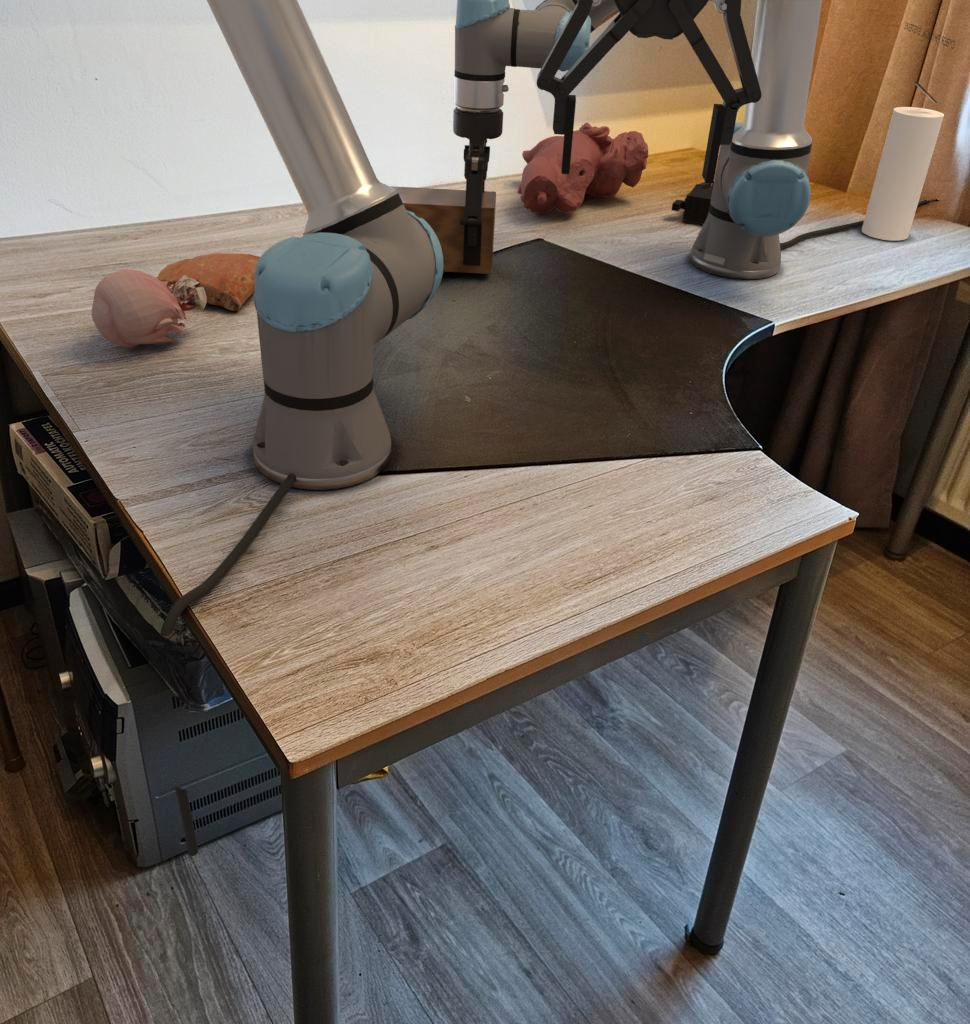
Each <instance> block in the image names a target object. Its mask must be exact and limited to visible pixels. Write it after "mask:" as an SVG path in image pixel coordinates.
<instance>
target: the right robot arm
mask: <svg viewBox="0 0 970 1024" xmlns="http://www.w3.org/2000/svg"><path fill="white" fill-rule="evenodd" d="M577 2H578V0H543V1H542V2H541V3H540V4H538V5H537V6H536V7H535V8H534V9H520V8H514V7H511V4H510V0H456V11H455V25H454V75H453V104H454V105H455V106H456V107H455V108H454V109H453V112H452V113H453V114H452V115H453V116H452V117H453V119H452V120H453V121H452V132H453V134H454V135H455V136H457V137H459V138H462V139H467V140H469V141H468V144H464V148H463V157H462V158H463V161H464V171H463V172H464V173H463V177H464V179H465V180H466V181H465V190H466V201H465V218H464V220H460V225H464V252H463V265H474V266H480V258H481V234H482V220H481V211H482V193H483V192H484V191H485V190H486V189H485V186H486V180H487V177H488V168H489V163H490V157H491V156H490V155H491V146H489V145H487V144H488V140H494V139H497V138H500V137H501V136H502V135H503V128H504V127H503V125H504V111H503V109H501V108H502V107H503V106H504V101H505V100H504V99H505V97H504V96H505V94H504V93H507V92H509V85H508V84H504V83H505V78H506V68H507V67H511V68H527V69H528V68H529V69H540V70H541V68H542V67H543V65H544V63H545V61H546V59H547V57H548V56H549V54H550V52H551V50H552V48H553V46H554V45H555V43H556V41H557V39H558V37H559V35H560V34H561V32H562V30H563V28H564V26H565V24H566V23H567V21H568V19H569V17H570V15H571V13H572V12H573V10H574V8H575V6H576V4H577ZM822 4H823V0H757V3H756V9H755V10H756V11H755V19H754V20H755V21H754V27H753V38H752V45H751V56H752V60H753V63H754V67H755V71H756V75H757V78H758V82H759V86H760V89H761V94H762V96H761V99H760V100H759V101H758V102H756V103H748V104H745V107H744V115H743V122H736V123H735V128H734V134H733V139H732V141H731V143H730V145H720V148H719V154H718V160H717V166H716V171H715V177H714V185H713V191H712V196H711V202H710V208H709V214H708V217H707V219H706V221H705V223H704V224H702V227H701V228H700V230H699V232H698V234H697V236H696V238H695V240H694V242H693V244H692V248H691V250H690V256H689V261H690V263H691V264H692V265H693V266H694V267H696V268H698V269H699V270H702V271H703V272H706V273H709V274H711V275H715V276H719V277H725V278H730V279H737V280H739V279H741V280H756V279H757V280H760V279H765V278H770V277H772V276H775V275H776V274H777V273H778V272H779V271H780V268H781V262H782V251H781V249H784V248H788V247H791V246H793V245H795V244H797V243H798V242H800V241H802V240H805V239H808V238H811V237H812V238H813V237H816V236H821V235H826V234H831V233H834V232H839V231H845V230H849V229H853V228H858V227H862V226H863V223H864V219H863V220H859V221H855V222H850V223H846V224H841V225H836V226H832V227H827V228H823V229H817V230H813V231H809V232H805V233H802V234H799V235H797V236H795V237H794V238H792V239H789V240H788V241H784V242H780V234H784V233H785V232H787V231H789V230H790V229H791V228H793V227H795V226H796V225H797V224H798V223H799V222H800V221H801V220H802V218H803V217H804V216H805V214H806V212H807V210H808V208H809V205H810V202H811V196H812V195H811V193H812V189H811V185H812V184H811V183H810V178H809V176H808V171H809V165H810V159H811V152H812V144H813V137H812V136H811V135H810V134H809V132H808V130H806V128H805V120H806V114H807V108H808V107H807V106H808V101H809V92H810V87H811V79H812V78H811V77H812V72H813V65H814V58H815V54H816V53H815V52H816V44H817V39H818V31H819V25H820V19H821V11H822ZM619 13H620V12H619V11H618V9H617V7H616V5H615V3H614V1H613V0H602V2H601V3H600V5H598V6H592V7H591V10H590V13H589V15H588V17H587V19H586V21H585V22H584V24H583V26H582V28H581V30H580V31H579V33H578V35H577V37H576V39H575V40H574V42H573V44H572V46H571V48H570V49H569V51H568V53H567V55H566V57H565V58H564V60H563V62H562V64H561V66H560V67H559V69H558V71H560V72H563V73H565V72H567V71H568V70H569V69H570V68H571V67H572V66H573V65H574V64H575V63H576V61H577V60H578V59H579V58H580V57H581V56H582V55H583V54H584V53H585V52H586V50H587V49H588V48H589V47H590V40H591V34H592V33H593V32H594V31H595V30H597V29H598V28H599V27H601V26H602V25H604V24H605V23H607V22H608V21H609V20H611V19H612V18H613V17H616V16H617V15H618V14H619ZM926 203H929V201H927V200H924V201H921V202H918V206H917V207H919V206H922V205H924V204H926ZM469 216H477V217H469Z"/></svg>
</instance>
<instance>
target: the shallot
mask: <svg viewBox="0 0 970 1024" xmlns="http://www.w3.org/2000/svg"><path fill="white" fill-rule="evenodd" d="M167 283H168V281H167V282H162V281H160V280H158V279H157V277H155V276H154V275H152V274H149V273H146V272H144V271H141V270H136V269H122V270H117V271H114V272H112V273H108V274H107V275H105V276H104V277H103V278H102V279H101V280H100V281H99V283H97V285H96V287H95V289H94V293H93V302H92V306H91V318H92V319H91V320H92V321H93V323H94V325H95V328H96V329H97V331H98V333H99V334H100V335H101V336H102V337H103V338H104V339H105V340H106V341H108V342H109V343H111V344H113V345H115V346H117V347H118V346H119V347H121V348H126V349H127V348H134V347H138V346H140V345H150V344H155V345H157V344H158V345H162V343H165V342H167V343H168V342H169V343H174V341H173V340H172V339H171V338H170V337H168V336H166V335H168V334H170V333H173V332H175V333H178V334H182V333H183V332H184V329H183V328H186V324H185V323H183V322H179V320H181V321H183V320H185V321H186V322H188V319H187V317H186V312H187V311H191V310H193V309H195V308H196V309H197V310H198V311H200V312H201V313H203V312H204V310H205V308H206V305H207V304H208V303H207V302H206V294H205V290H204V287H198V286H199V285H200V282H199V281H198V280H194V279H192V278H188V277H187V276H186V275H183V276H182V277H180V278H179V280H178V281H177V282H176V283H175V284H171V285H169V286H168V288H167Z"/></svg>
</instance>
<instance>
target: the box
mask: <svg viewBox="0 0 970 1024" xmlns="http://www.w3.org/2000/svg"><path fill="white" fill-rule="evenodd" d="M389 186H390V187H392V188H394V189H396V190H397V191H398V193H399V195H400V198H401V200H402V202H403V204H404V207H405V209H406V210H407V211H410V212H413V213H414V214H415V215H416V216H417V217H419V218H423V219H424V220H425V221H426V222H427V223H428V224H429V225H430V227H431V228H432V229H433V231H434V232H435V234H436V236H437V238H438V240H439V242H440V245H441V249H442V254H443V264H444V265H443V272H447V273H464V274H465V273H467V274H483V275H484V274H486V275H492V271H493V262H494V261H493V260H494V246H495V244H494V243H495V226H496V225H495V222H496V204H497V203H496V202H497V191H487V190H484V192H483V193H482V211H481V220H482V234H481V258H480V266H474V265H463V252H464V225H460V220H464V218H465V201H466V189H448V188H433V187H432V188H431V187H412V186H393V185H389ZM469 217H477V216H469Z"/></svg>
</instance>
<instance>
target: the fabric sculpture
mask: <svg viewBox="0 0 970 1024" xmlns="http://www.w3.org/2000/svg"><path fill="white" fill-rule="evenodd" d="M610 130H611V129H610V127H608V126H607V125H605V126H604V125H602V126H600V127H598V126H592V125H591V124H590V123H589V122H585V123H584V124H581V126H580V127H579V129H576V130H573V139H572V150H571V161H570V172H569V174H561V166H562V154H563V143H564V135H554V136H549V137H546V138H544V139H542V140H540V141H539V142H538V143H536V145H535V146H534V147H532V148H531V149H529V150H523V151H522V153H521V156H522V158H523V160H524V162H525V163H526V164H525V166H524V168H523V170H522V172H521V173H522V174H521V180H520V181H521V182H520V185H519V186H518V189H517V194H518V195H520V200H521V202H522V203H523V207H524V209H525V210H529V211H530V212H532V213H535V214H546V213H549V212H551V211H552V210H553V209H554V208H555V209H556V210H557V211H559V212H560V213H564V214H569V213H573V212H575V211H578V209H579V208H581V206H582V203H584V199H585V195H591V196H593V197H596V198H599V197H604V198H606V197H608V198H610V197H613V196H614V195H617V194H618V192H619V191H620V189H621V186H622V184H624V185H625V186H627V187H631V188H635V187H636V186H637V185H638V184H639V183H640V181H641V178H642V174H643V171H645V170H646V169H647V164H648V161H647V160H648V157H649V146H648V143H647V142H646V141H645V139H644V135H643V134H642V132H638V131H636V130H631V131H628V132H627V131H624V132H621V133H618V135H617V136H615V137H614V138H612V137H611V136H610V135H609V134H610Z"/></svg>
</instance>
